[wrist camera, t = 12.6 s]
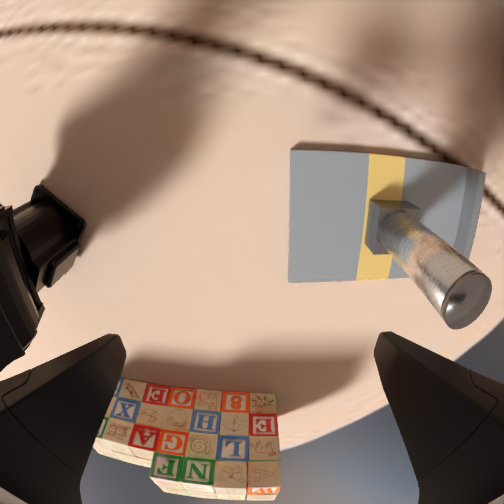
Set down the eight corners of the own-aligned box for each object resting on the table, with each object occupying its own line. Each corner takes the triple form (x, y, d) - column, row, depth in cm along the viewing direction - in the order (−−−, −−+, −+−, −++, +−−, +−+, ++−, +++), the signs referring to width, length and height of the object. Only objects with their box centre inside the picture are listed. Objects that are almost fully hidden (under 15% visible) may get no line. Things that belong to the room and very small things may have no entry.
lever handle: (364, 243, 20) (432, 337, 11) (369, 199, 19) (456, 273, 9) (402, 242, 20) (479, 326, 11) (408, 201, 19) (502, 268, 9)
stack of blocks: (117, 400, 32) (91, 472, 21) (103, 372, 29) (68, 451, 18) (272, 418, 32) (275, 502, 21) (277, 391, 29) (282, 489, 18)
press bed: (287, 277, 23) (291, 294, 20) (290, 149, 18) (294, 152, 16) (448, 270, 22) (461, 282, 20) (468, 166, 18) (485, 173, 16)
